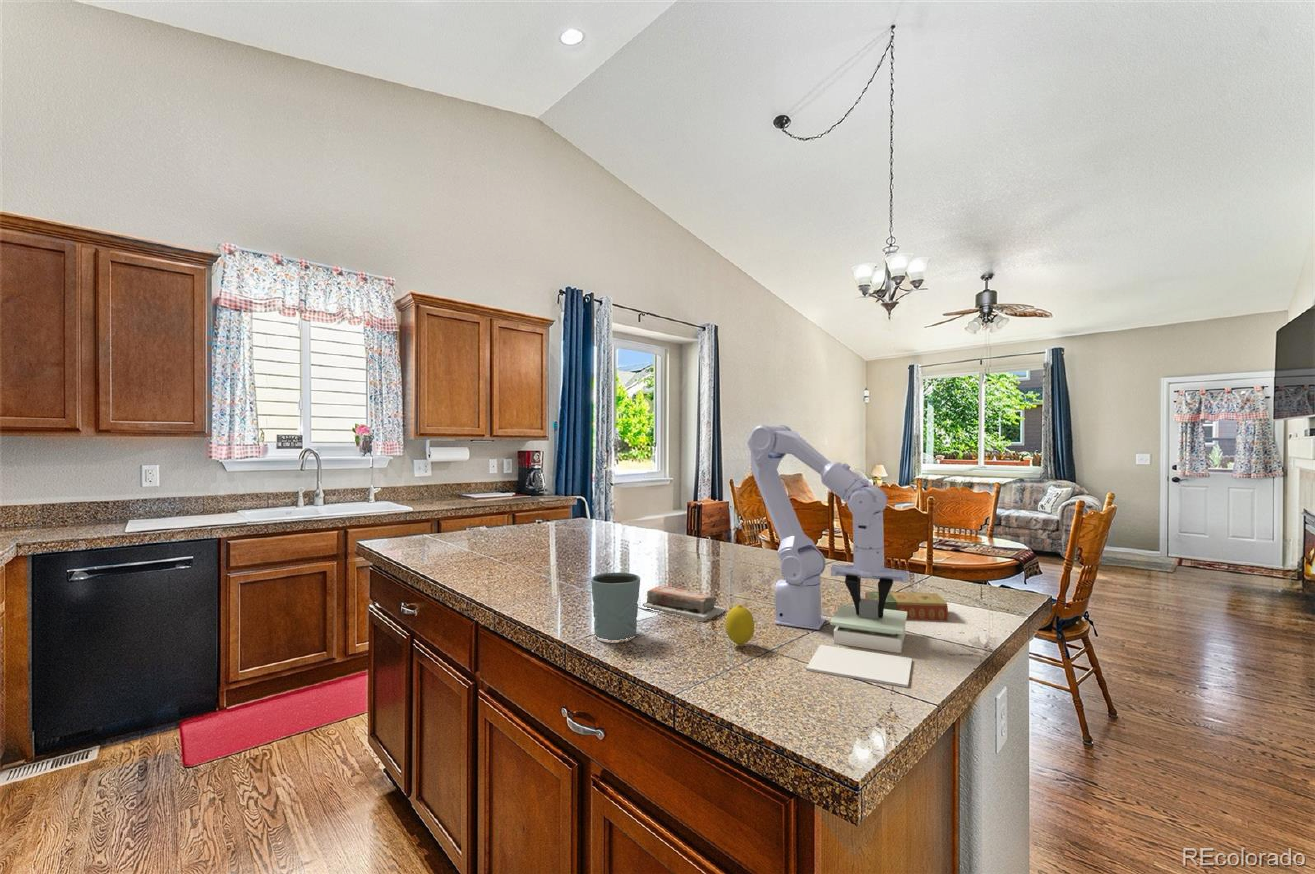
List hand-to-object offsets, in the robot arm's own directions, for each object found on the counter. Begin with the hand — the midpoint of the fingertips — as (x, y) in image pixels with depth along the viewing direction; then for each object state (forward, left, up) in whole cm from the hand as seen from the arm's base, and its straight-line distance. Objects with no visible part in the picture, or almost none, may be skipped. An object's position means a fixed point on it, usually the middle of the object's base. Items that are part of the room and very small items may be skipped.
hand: (869, 614), depth 110 cm
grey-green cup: (-47, -20, -5) cm, 51 cm away
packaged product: (-42, +2, -5) cm, 42 cm away
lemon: (-22, -15, -5) cm, 27 cm away
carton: (+5, +20, -5) cm, 21 cm away
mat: (0, -15, -5) cm, 16 cm away
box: (0, 0, -5) cm, 5 cm away
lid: (0, 0, -2) cm, 2 cm away
